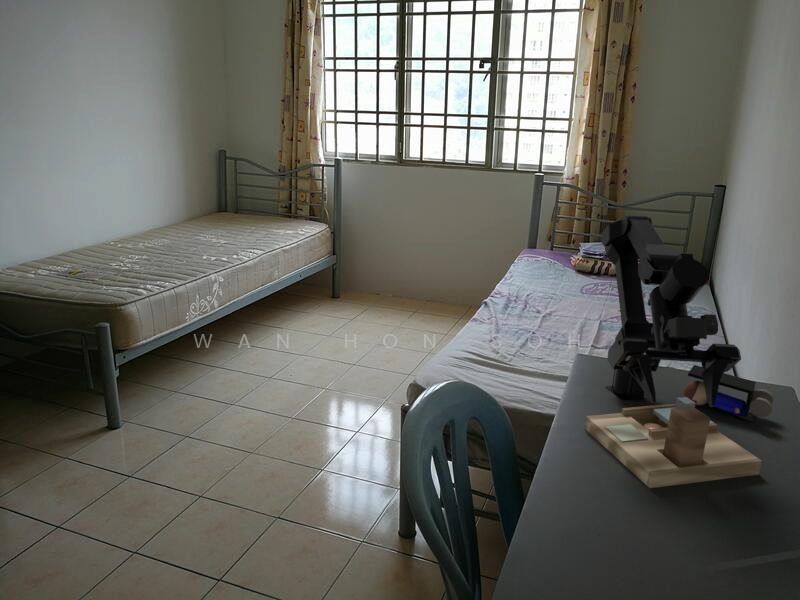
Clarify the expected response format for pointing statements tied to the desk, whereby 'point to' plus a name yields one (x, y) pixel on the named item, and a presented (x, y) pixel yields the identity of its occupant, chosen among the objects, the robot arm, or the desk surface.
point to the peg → (686, 436)
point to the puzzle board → (647, 446)
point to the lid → (680, 403)
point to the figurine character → (756, 400)
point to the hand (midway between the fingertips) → (682, 404)
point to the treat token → (652, 426)
